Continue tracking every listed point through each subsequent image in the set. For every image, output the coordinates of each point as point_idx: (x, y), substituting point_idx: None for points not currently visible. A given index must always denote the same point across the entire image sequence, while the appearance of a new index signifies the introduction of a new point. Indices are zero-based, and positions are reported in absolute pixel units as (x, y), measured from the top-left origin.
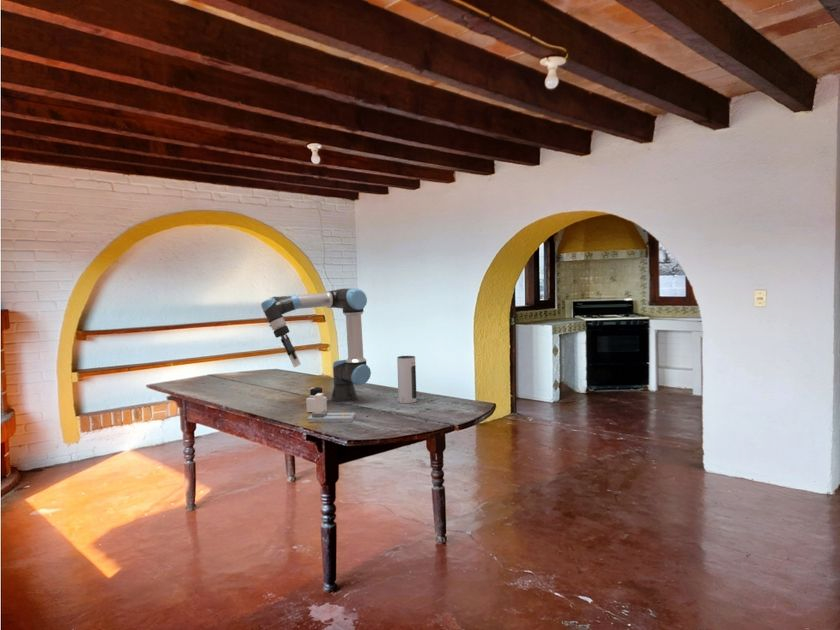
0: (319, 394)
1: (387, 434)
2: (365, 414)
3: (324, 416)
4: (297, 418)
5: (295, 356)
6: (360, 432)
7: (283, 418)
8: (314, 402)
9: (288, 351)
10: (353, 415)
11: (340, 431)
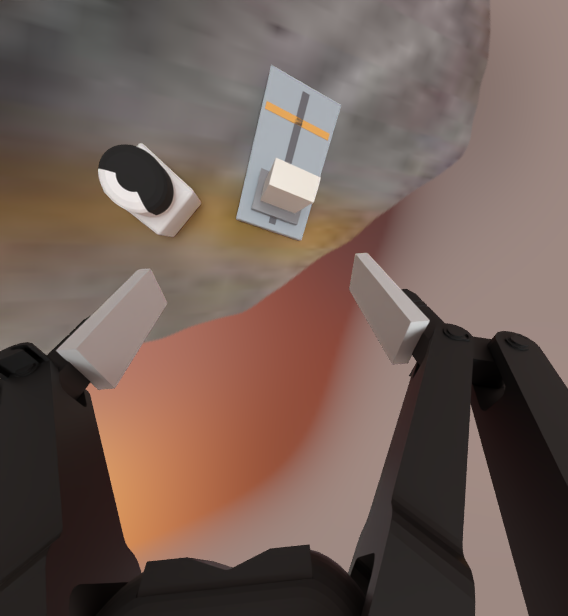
0: (299, 179)
1: (478, 42)
2: (248, 25)
3: None
4: (244, 265)
5: (420, 306)
6: (434, 112)
7: (234, 301)
8: (188, 204)
9: (92, 433)
10: (304, 84)
11: (407, 162)
